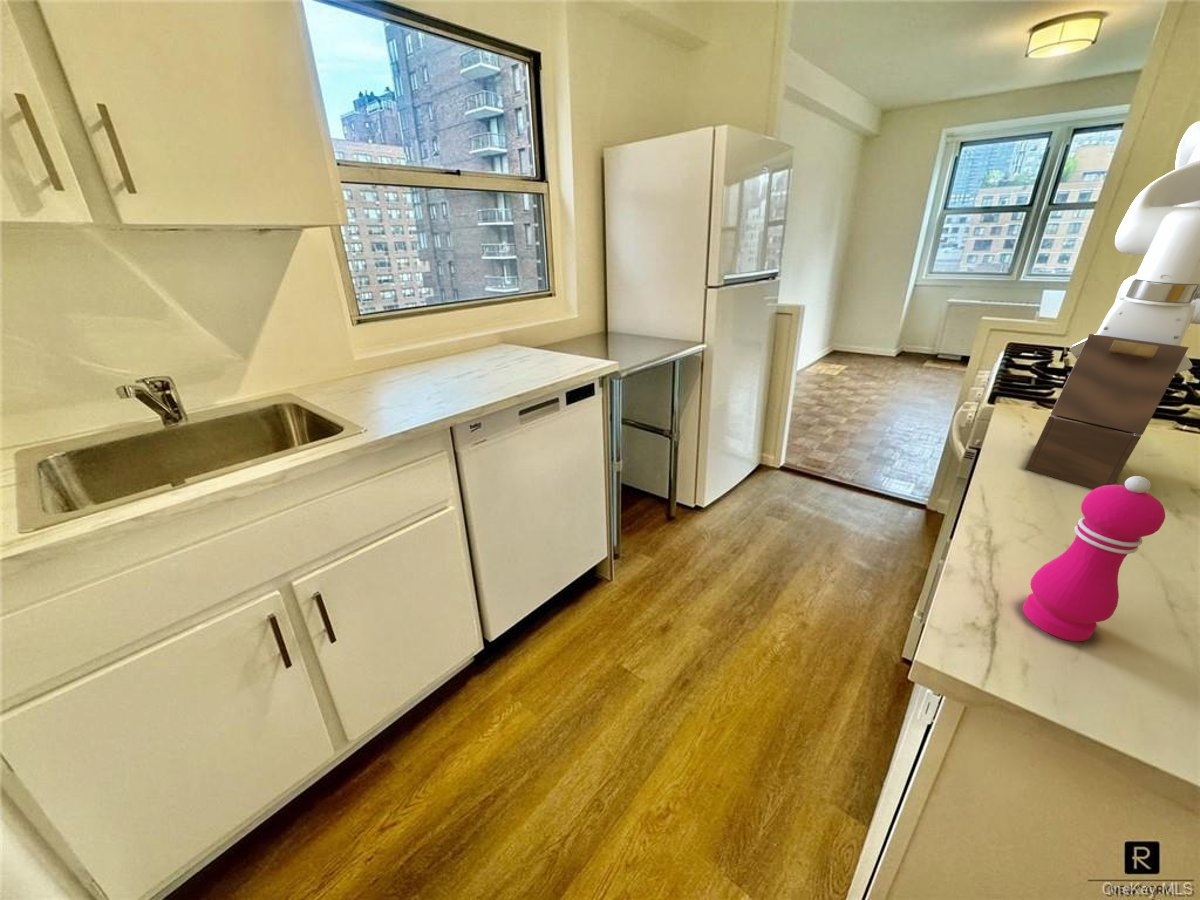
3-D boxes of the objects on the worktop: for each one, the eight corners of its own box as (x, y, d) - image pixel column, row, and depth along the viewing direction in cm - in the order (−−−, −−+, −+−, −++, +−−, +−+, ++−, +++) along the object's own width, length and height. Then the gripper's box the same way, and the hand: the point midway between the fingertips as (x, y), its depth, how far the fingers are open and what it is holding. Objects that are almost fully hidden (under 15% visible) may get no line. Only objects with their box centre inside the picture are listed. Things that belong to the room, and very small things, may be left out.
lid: (1089, 334, 83) (1091, 326, 79) (1187, 348, 76) (1196, 340, 72) (1050, 414, 86) (1050, 410, 82) (1141, 435, 79) (1147, 432, 74)
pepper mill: (1002, 598, 61) (1075, 459, 52) (1061, 599, 61) (1143, 460, 52) (1048, 644, 55) (1139, 495, 45) (1113, 646, 54) (1218, 497, 45)
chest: (1037, 447, 99) (1060, 398, 94) (1114, 467, 92) (1144, 415, 87) (1024, 469, 91) (1049, 416, 86) (1108, 493, 83) (1140, 437, 79)
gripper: (1240, 297, 75) (1175, 405, 83) (1091, 284, 86) (1048, 381, 95) (1243, 303, 71) (1175, 417, 79) (1087, 289, 82) (1041, 390, 90)
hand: (1106, 396), depth 87 cm, fingers closed on lemon, 5 cm apart
